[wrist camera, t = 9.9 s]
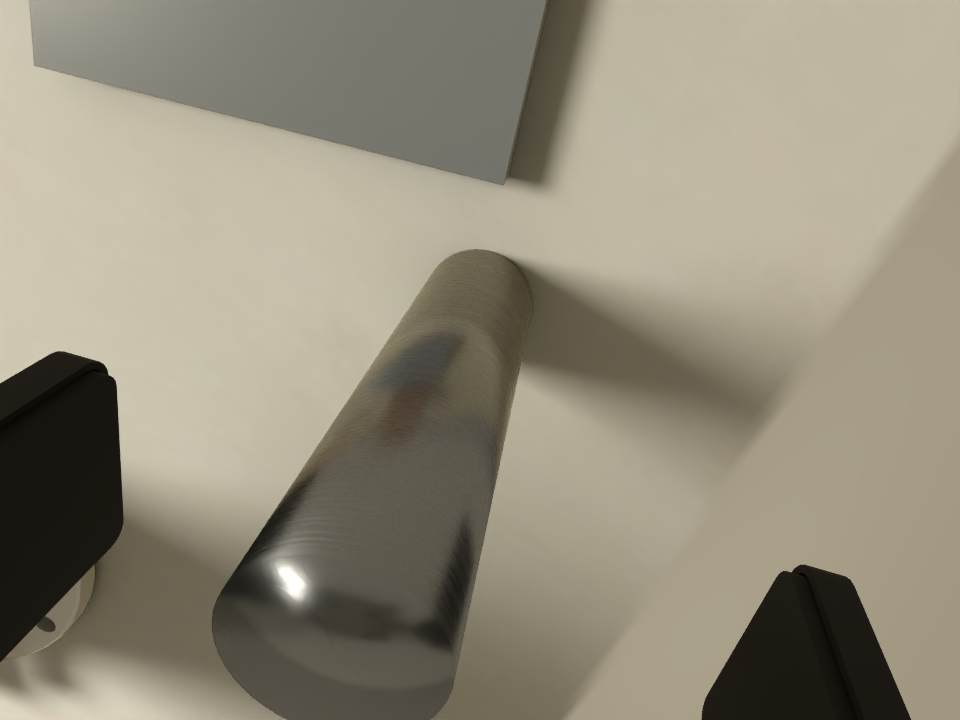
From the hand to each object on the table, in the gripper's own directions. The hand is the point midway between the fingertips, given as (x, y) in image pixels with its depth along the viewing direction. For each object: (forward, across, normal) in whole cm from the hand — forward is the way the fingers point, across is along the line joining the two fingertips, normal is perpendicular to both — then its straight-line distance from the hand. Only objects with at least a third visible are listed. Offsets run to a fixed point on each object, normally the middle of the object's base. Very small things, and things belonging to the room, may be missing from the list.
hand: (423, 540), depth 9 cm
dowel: (+10, +1, +1) cm, 10 cm away
